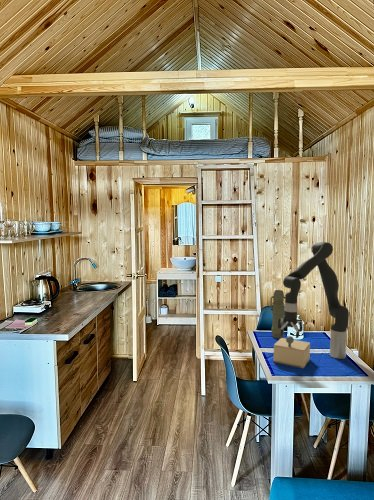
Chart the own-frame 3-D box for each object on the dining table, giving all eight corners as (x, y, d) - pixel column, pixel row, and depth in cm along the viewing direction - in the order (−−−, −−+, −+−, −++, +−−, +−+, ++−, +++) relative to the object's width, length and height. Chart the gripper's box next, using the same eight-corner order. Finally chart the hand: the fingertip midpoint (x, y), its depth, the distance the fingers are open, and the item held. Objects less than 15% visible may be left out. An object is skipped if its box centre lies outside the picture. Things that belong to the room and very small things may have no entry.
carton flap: (310, 343, 227) (310, 332, 227) (304, 351, 213) (304, 339, 213) (281, 339, 236) (281, 328, 236) (273, 346, 222) (274, 334, 222)
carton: (309, 359, 228) (310, 344, 227) (303, 368, 214) (304, 351, 213) (280, 354, 237) (281, 339, 236) (273, 362, 223) (273, 346, 223)
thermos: (287, 338, 270) (288, 291, 268) (271, 338, 270) (272, 291, 267) (283, 334, 279) (285, 289, 277) (268, 334, 279) (269, 289, 276)
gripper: (304, 310, 218) (303, 337, 219) (280, 307, 225) (279, 333, 226) (301, 313, 211) (300, 340, 213) (277, 309, 219) (276, 336, 220)
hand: (289, 336), depth 219 cm, fingers open, 8 cm apart
